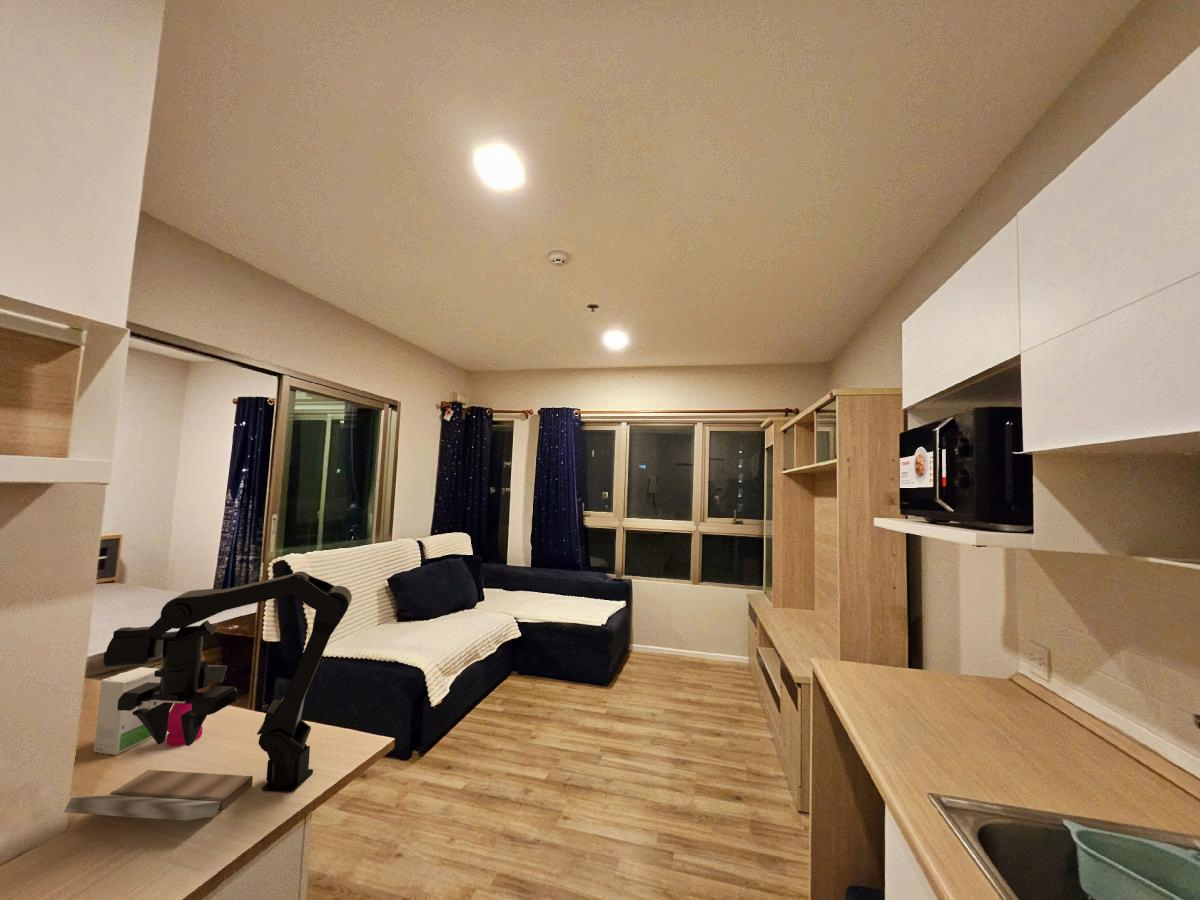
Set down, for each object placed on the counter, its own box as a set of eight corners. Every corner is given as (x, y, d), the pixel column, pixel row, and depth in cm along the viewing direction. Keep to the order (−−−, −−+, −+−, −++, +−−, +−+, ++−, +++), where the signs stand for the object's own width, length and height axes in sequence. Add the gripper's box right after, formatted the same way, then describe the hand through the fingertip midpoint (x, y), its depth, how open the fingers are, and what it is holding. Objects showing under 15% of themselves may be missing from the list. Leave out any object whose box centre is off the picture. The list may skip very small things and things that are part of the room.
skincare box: (115, 756, 100) (121, 683, 101) (90, 753, 101) (97, 680, 102) (158, 735, 108) (163, 668, 109) (134, 732, 109) (140, 665, 110)
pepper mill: (155, 750, 102) (162, 658, 104) (175, 732, 109) (182, 647, 111) (193, 746, 104) (200, 656, 106) (211, 728, 111) (217, 645, 112)
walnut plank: (252, 786, 92) (252, 775, 92) (221, 811, 85) (222, 800, 85) (147, 780, 93) (148, 769, 93) (108, 804, 86) (109, 793, 86)
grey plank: (215, 815, 83) (221, 801, 85) (186, 820, 78) (192, 805, 79) (101, 808, 84) (108, 794, 86) (63, 812, 79) (71, 797, 80)
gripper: (261, 646, 95) (256, 723, 95) (176, 642, 96) (170, 719, 95) (214, 669, 84) (208, 756, 83) (118, 664, 85) (110, 751, 84)
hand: (175, 744), depth 87 cm, fingers open, 5 cm apart
